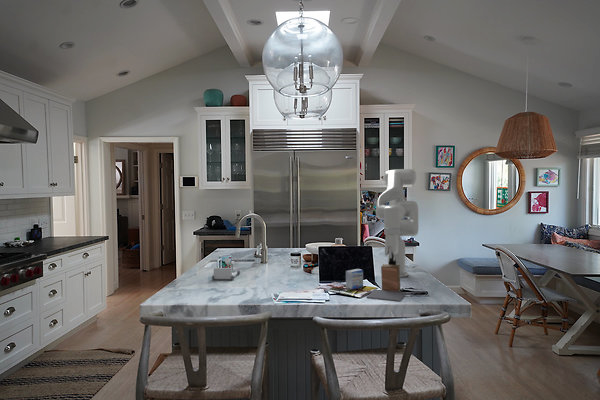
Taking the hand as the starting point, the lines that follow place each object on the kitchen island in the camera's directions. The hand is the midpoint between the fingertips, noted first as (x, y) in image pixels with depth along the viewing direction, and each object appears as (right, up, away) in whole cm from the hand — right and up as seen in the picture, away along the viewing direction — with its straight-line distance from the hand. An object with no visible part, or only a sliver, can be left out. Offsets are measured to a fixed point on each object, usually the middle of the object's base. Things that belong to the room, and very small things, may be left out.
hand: (392, 268), depth 194 cm
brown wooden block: (-1, -10, -2) cm, 10 cm away
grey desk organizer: (-86, -11, +32) cm, 92 cm away
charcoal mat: (-5, -10, -11) cm, 16 cm away
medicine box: (-18, -10, +5) cm, 21 cm away
